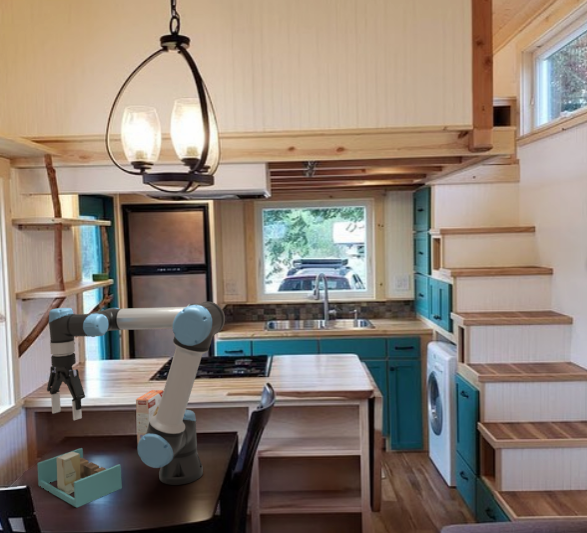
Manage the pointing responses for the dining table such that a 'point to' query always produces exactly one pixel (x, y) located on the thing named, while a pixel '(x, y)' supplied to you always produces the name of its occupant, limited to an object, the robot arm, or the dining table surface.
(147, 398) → the cracker box
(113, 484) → the teal rack
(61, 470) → the skincare box
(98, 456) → the dining table surface
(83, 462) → the offcut
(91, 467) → the block
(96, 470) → the offcut
